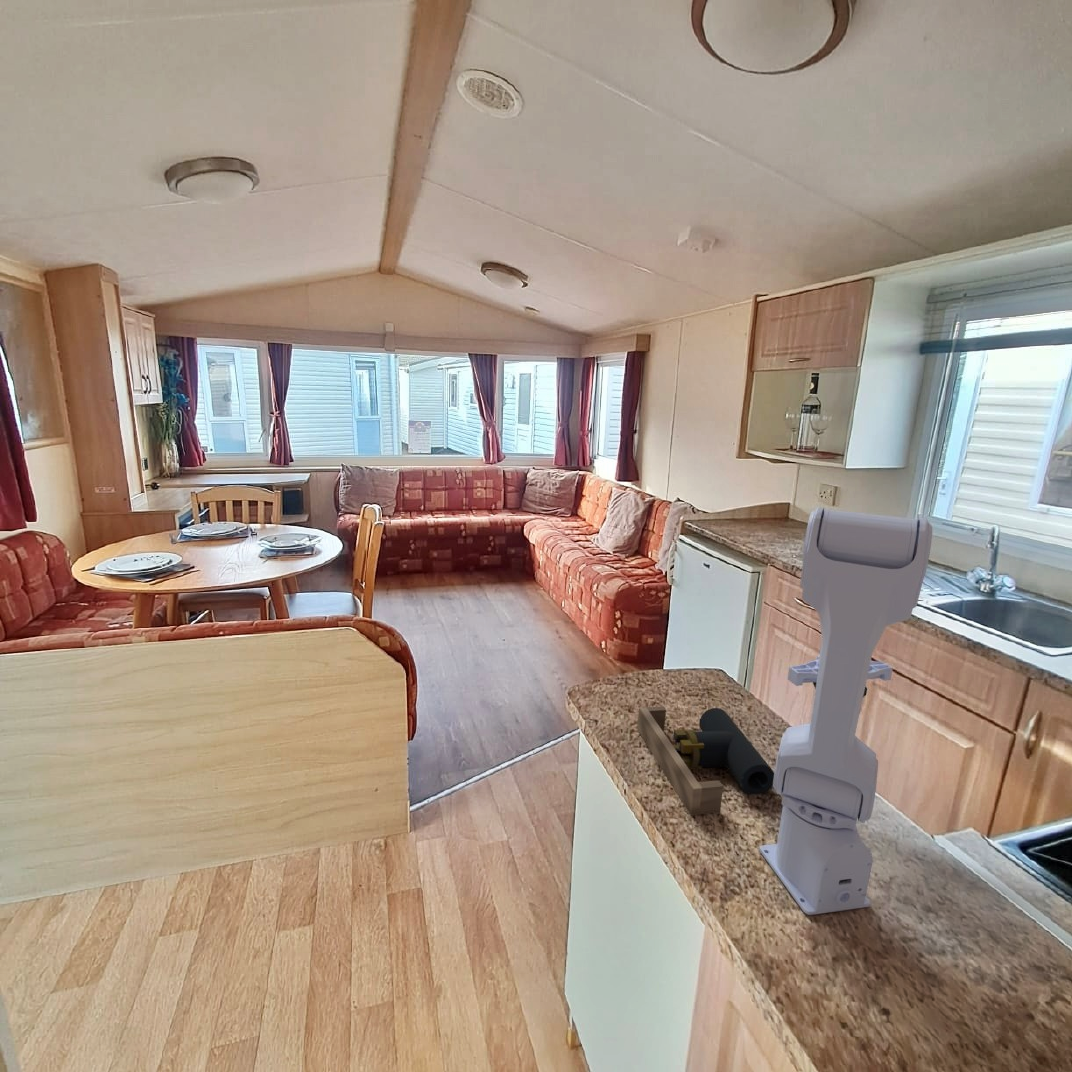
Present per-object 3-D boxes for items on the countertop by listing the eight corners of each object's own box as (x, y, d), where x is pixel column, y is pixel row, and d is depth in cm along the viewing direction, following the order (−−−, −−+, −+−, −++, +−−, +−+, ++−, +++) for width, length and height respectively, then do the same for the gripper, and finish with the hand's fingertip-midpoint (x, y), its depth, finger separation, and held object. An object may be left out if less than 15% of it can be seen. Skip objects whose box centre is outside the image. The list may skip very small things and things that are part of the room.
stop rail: (720, 812, 76) (723, 786, 75) (690, 815, 76) (693, 788, 75) (661, 727, 96) (663, 706, 95) (637, 729, 95) (639, 707, 94)
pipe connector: (698, 764, 78) (662, 707, 93) (693, 798, 79) (659, 736, 94) (777, 763, 79) (730, 707, 94) (771, 796, 81) (726, 735, 95)
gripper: (871, 623, 82) (856, 709, 86) (780, 627, 80) (767, 715, 83) (911, 644, 76) (892, 735, 79) (812, 648, 73) (797, 743, 76)
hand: (831, 727), depth 80 cm, fingers closed
